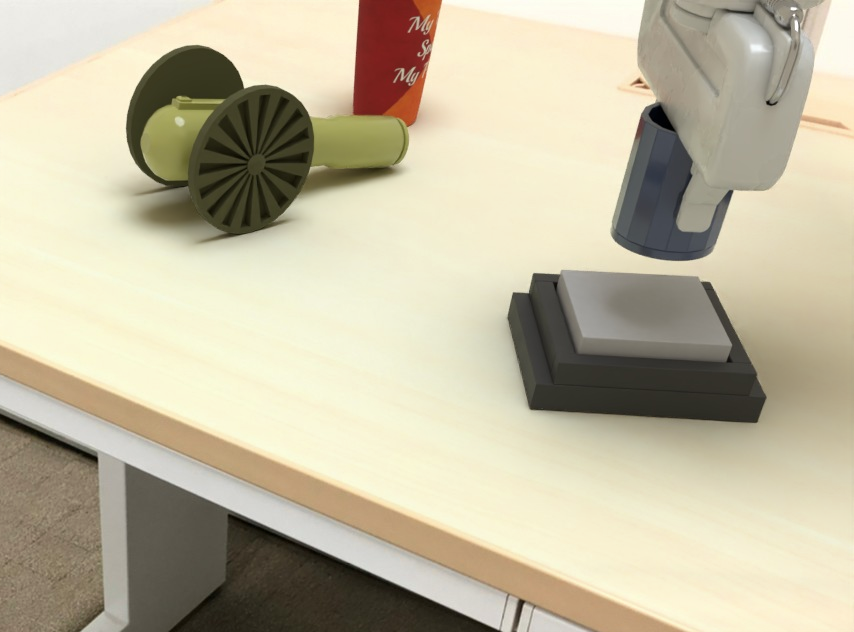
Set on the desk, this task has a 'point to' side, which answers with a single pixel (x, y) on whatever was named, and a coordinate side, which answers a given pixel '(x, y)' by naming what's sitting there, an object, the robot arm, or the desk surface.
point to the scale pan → (641, 316)
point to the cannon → (243, 139)
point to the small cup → (660, 195)
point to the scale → (625, 369)
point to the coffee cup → (393, 56)
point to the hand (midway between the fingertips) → (674, 199)
